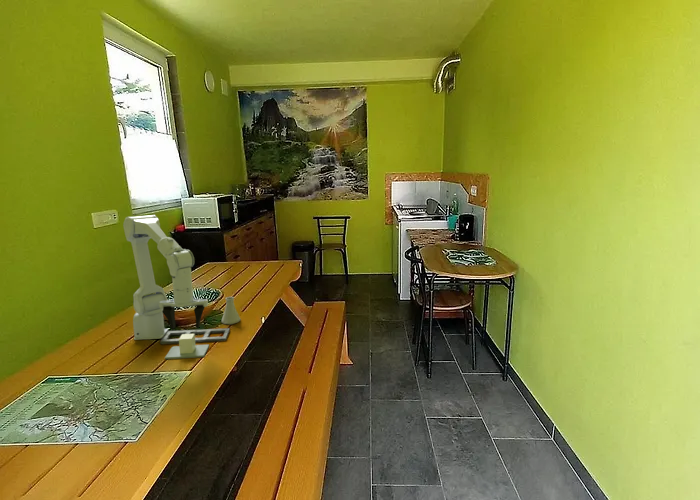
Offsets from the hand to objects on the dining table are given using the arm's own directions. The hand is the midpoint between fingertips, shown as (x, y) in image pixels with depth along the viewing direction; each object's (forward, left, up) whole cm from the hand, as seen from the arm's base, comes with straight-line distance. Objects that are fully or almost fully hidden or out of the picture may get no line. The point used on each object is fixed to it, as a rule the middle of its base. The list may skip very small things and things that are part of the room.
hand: (185, 327), depth 123 cm
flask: (+10, +26, -9) cm, 29 cm away
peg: (0, 0, -8) cm, 8 cm away
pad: (0, 0, -9) cm, 9 cm away
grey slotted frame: (0, +12, -9) cm, 15 cm away
